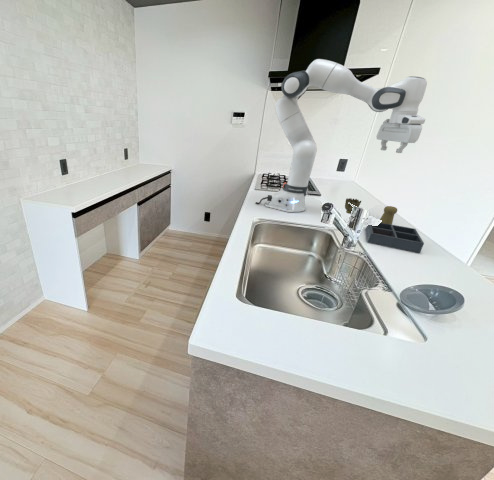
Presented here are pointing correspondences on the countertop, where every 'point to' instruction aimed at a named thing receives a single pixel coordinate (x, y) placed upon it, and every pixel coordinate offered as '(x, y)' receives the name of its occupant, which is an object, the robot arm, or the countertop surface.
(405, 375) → the countertop surface
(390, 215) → the cork
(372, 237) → the grid
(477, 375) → the countertop surface
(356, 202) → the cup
